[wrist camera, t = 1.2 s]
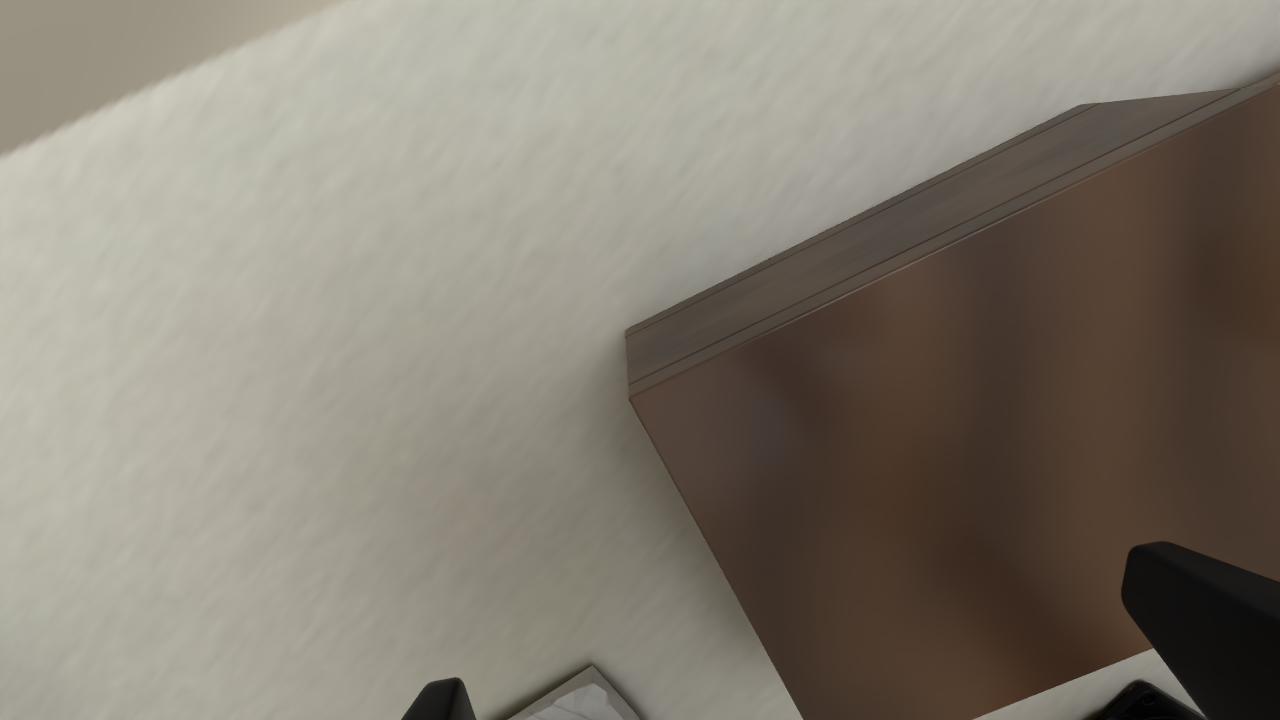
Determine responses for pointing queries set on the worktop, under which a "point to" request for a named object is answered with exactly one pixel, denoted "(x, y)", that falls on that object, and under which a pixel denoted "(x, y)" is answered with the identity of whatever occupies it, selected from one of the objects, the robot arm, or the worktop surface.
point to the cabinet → (988, 407)
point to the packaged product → (580, 701)
